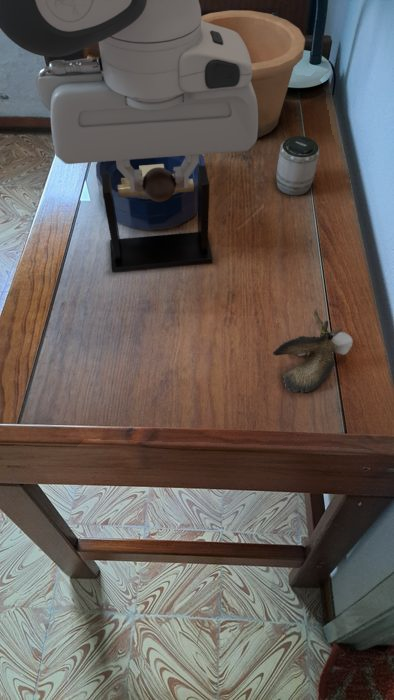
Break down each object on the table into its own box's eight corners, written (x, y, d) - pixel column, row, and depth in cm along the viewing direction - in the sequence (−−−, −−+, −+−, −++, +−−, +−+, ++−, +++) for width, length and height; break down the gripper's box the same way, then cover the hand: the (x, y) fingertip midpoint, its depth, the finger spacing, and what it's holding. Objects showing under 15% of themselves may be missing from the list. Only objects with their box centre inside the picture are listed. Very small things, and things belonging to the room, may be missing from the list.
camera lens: (284, 169, 89) (291, 128, 83) (317, 181, 87) (327, 139, 81) (268, 189, 86) (274, 147, 80) (302, 201, 84) (311, 160, 78)
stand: (112, 272, 75) (97, 198, 64) (110, 244, 78) (96, 169, 67) (212, 263, 76) (215, 188, 65) (206, 235, 80) (208, 160, 69)
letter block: (140, 180, 80) (139, 165, 82) (142, 201, 84) (141, 186, 86) (165, 178, 81) (163, 163, 83) (167, 199, 84) (164, 184, 86)
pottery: (297, 150, 93) (312, 69, 81) (177, 148, 93) (174, 67, 81) (287, 88, 105) (299, 10, 93) (181, 86, 105) (180, 8, 93)
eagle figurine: (293, 319, 69) (257, 354, 63) (332, 299, 63) (296, 336, 58) (325, 364, 69) (292, 402, 64) (366, 349, 64) (334, 390, 58)
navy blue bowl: (103, 236, 79) (97, 205, 75) (100, 169, 89) (95, 138, 84) (211, 227, 81) (212, 196, 76) (197, 161, 91) (197, 130, 86)
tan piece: (114, 205, 54) (110, 169, 53) (122, 205, 78) (119, 180, 77) (207, 197, 55) (205, 162, 54) (187, 199, 79) (185, 175, 78)
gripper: (28, 80, 42) (63, 213, 53) (270, 66, 44) (254, 198, 55) (32, 45, 46) (64, 176, 57) (255, 33, 47) (243, 163, 59)
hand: (159, 186), depth 56 cm, fingers closed on tan piece, 3 cm apart
